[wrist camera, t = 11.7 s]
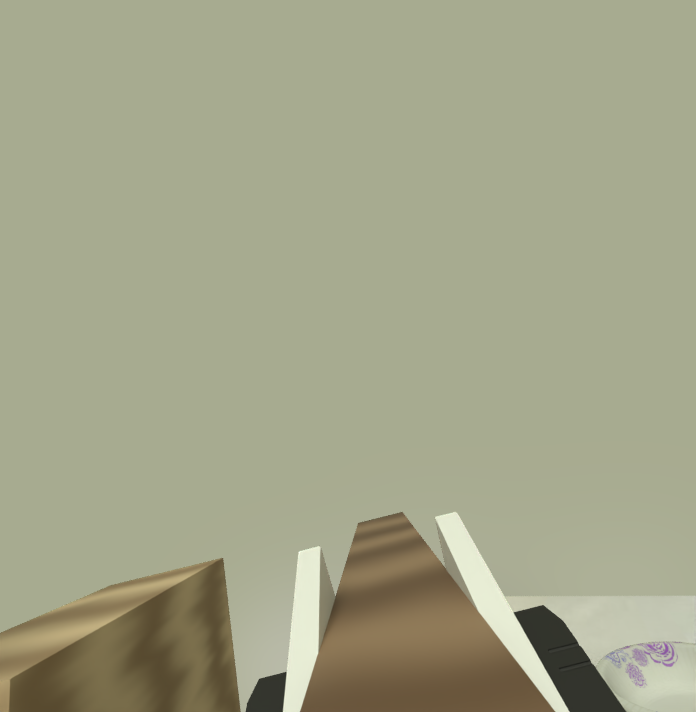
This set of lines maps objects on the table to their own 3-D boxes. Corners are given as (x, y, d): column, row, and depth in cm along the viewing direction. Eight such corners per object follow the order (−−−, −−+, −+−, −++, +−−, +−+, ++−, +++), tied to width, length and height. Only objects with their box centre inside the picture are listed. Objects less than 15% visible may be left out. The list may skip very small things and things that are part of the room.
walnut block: (803, 1369, 3) (594, 761, 4) (334, 1504, 3) (257, 848, 4) (415, 561, 32) (402, 512, 33) (369, 573, 32) (358, 523, 33)
